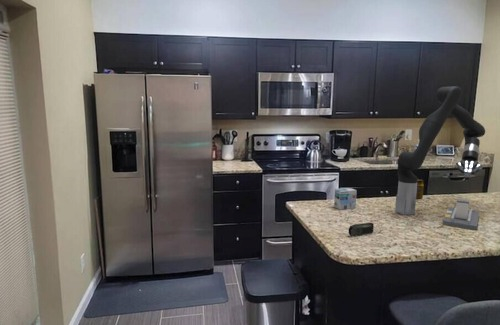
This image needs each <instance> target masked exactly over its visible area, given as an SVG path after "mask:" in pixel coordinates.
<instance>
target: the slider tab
mask: <svg viewBox="0 0 500 325" xmlns="http://www.w3.org/2000/svg"><path fill="white" fill-rule="evenodd" d="M470 202H471V201H470V200H469V199H464V198H463V199H461V198H456V206H455V207H456V215H455V218H461V219H467V217H468V210H469V209H470V207H469V206H470Z"/></svg>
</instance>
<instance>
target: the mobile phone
mask: <svg viewBox="0 0 500 325" xmlns="http://www.w3.org/2000/svg"><path fill="white" fill-rule="evenodd" d="M374 226H375V225H374V223H373V222H362V223H354V224H352V225H350V226H349V227H348V236H347V238H352V237H358V236H363V235H369V234H373V233H374V228H375V227H374Z"/></svg>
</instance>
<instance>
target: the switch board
mask: <svg viewBox="0 0 500 325" xmlns="http://www.w3.org/2000/svg"><path fill="white" fill-rule="evenodd" d="M455 215H456V206H454V207H448V209H447V210H446V212H445V214H444V218H443V220H442V225H444V226H448V227H454V228H461V229H466V230H473V231H478V224H479V216H480V211H477V210H473V208H469V209H468V217H467V219H461V218H455Z"/></svg>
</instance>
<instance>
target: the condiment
mask: <svg viewBox="0 0 500 325" xmlns="http://www.w3.org/2000/svg"><path fill="white" fill-rule="evenodd" d="M424 187H425V186H424V180H423V179H419V178H418V180H417V192H416V201H422V200H424V199H425V197H424Z"/></svg>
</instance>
